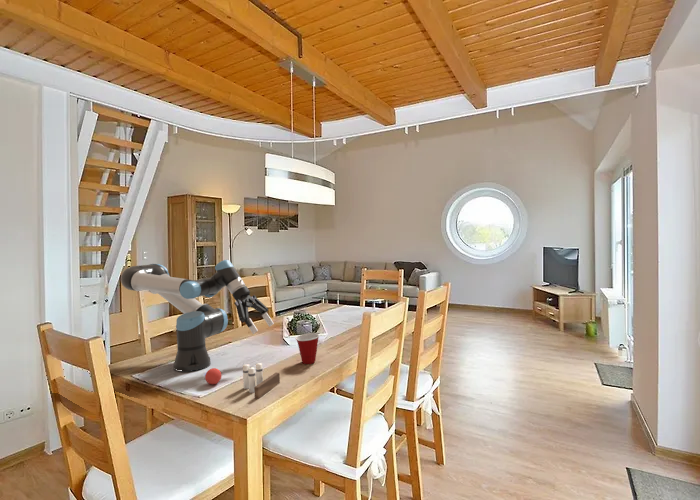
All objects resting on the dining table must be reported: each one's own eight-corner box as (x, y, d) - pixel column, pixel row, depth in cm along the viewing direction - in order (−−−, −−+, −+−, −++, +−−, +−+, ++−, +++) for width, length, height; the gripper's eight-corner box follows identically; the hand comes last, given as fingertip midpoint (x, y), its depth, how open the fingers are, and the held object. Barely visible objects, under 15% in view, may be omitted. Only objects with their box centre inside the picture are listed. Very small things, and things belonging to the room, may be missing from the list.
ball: (202, 386, 150) (201, 370, 150) (212, 380, 156) (211, 365, 156) (215, 387, 148) (214, 372, 148) (225, 381, 154) (224, 366, 154)
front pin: (242, 388, 146) (241, 366, 146) (245, 386, 149) (245, 363, 148) (247, 389, 146) (247, 366, 145) (251, 386, 148) (250, 364, 148)
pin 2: (255, 387, 147) (254, 364, 147) (258, 384, 150) (257, 362, 150) (260, 388, 147) (260, 365, 146) (264, 385, 149) (263, 363, 149)
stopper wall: (254, 398, 137) (254, 387, 137) (276, 382, 152) (275, 372, 151) (258, 398, 137) (258, 387, 137) (279, 383, 151) (279, 372, 151)
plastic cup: (296, 359, 180) (295, 333, 180) (320, 357, 181) (319, 332, 181) (295, 366, 169) (294, 339, 169) (320, 365, 170) (319, 338, 170)
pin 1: (247, 392, 143) (246, 369, 142) (251, 389, 145) (250, 367, 145) (253, 393, 142) (252, 369, 142) (257, 390, 144) (256, 367, 144)
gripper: (227, 289, 167) (254, 330, 163) (259, 282, 190) (283, 318, 187) (216, 299, 169) (242, 340, 166) (248, 290, 192) (272, 326, 189)
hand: (263, 328), depth 176 cm, fingers open, 13 cm apart
